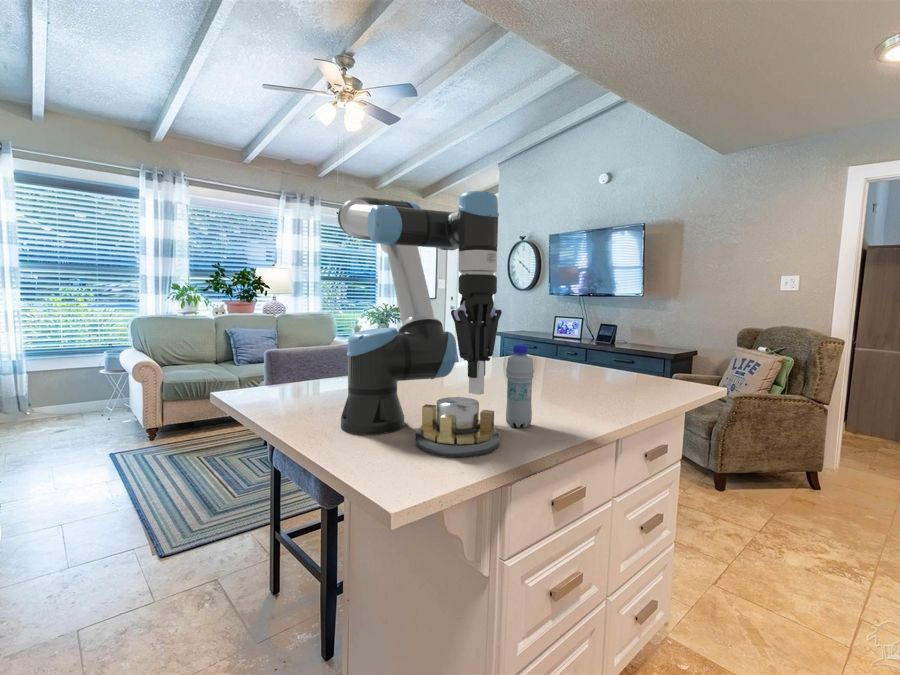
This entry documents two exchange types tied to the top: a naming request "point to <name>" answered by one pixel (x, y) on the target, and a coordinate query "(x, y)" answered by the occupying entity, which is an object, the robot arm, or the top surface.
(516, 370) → the bottle
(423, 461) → the top surface
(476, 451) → the cap plate
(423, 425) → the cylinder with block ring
